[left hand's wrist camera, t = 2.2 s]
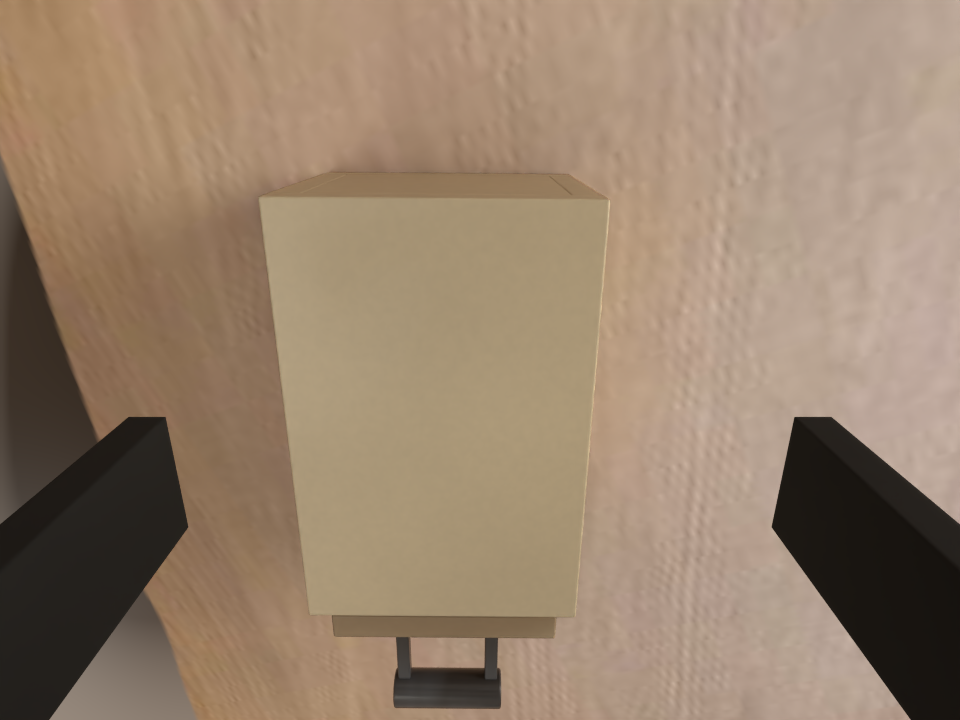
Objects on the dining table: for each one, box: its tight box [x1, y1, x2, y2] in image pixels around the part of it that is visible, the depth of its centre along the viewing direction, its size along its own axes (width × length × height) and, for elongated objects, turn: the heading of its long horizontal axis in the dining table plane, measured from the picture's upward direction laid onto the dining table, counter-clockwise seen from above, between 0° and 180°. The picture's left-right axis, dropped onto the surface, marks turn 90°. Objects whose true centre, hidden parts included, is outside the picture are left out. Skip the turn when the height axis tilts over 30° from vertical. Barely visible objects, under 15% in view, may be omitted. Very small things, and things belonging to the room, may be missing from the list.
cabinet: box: [258, 172, 610, 617], centre depth 26 cm, size 16×11×9 cm, turn 0°
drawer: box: [332, 615, 556, 709], centre depth 28 cm, size 21×10×7 cm, turn 0°
